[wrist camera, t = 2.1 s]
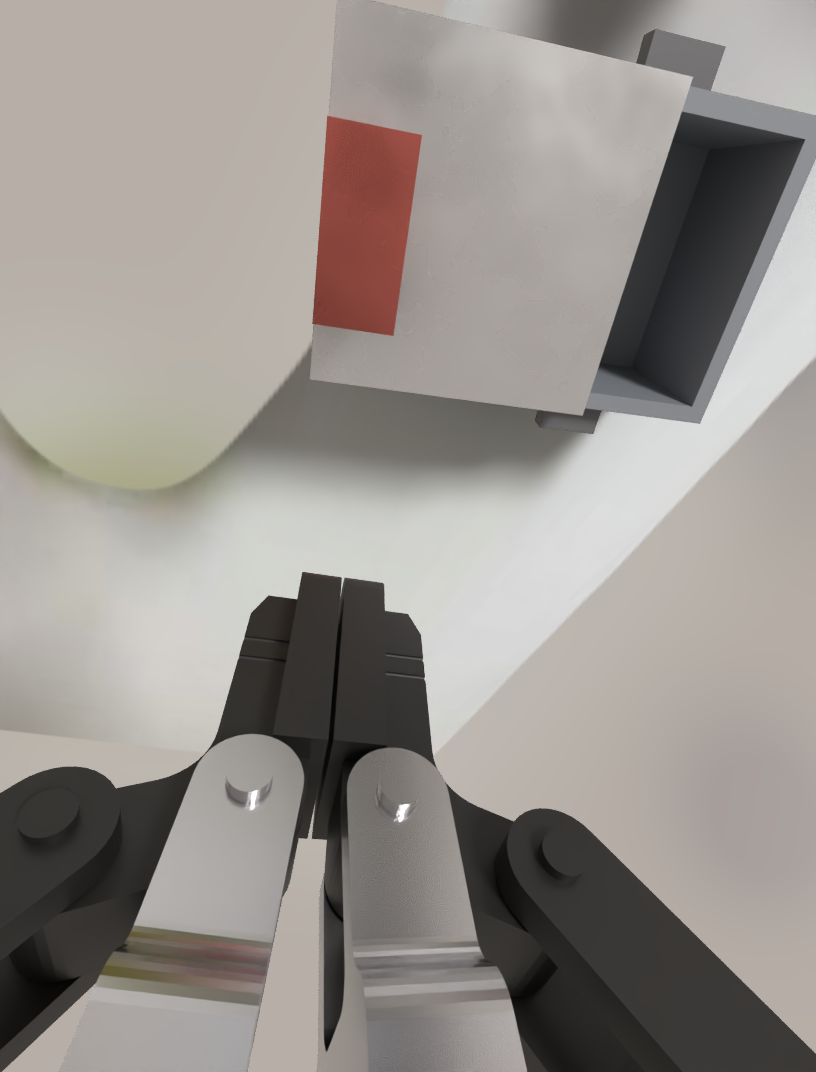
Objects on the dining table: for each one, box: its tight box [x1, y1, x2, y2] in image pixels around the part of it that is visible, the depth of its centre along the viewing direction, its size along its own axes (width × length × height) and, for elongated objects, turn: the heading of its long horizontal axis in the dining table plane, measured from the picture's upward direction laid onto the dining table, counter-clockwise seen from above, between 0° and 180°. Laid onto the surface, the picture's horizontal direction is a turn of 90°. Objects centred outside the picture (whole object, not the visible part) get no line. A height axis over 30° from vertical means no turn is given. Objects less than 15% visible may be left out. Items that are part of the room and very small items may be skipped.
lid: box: [310, 0, 693, 416], centre depth 20 cm, size 13×13×9 cm
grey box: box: [535, 29, 816, 434], centre depth 29 cm, size 13×16×8 cm
